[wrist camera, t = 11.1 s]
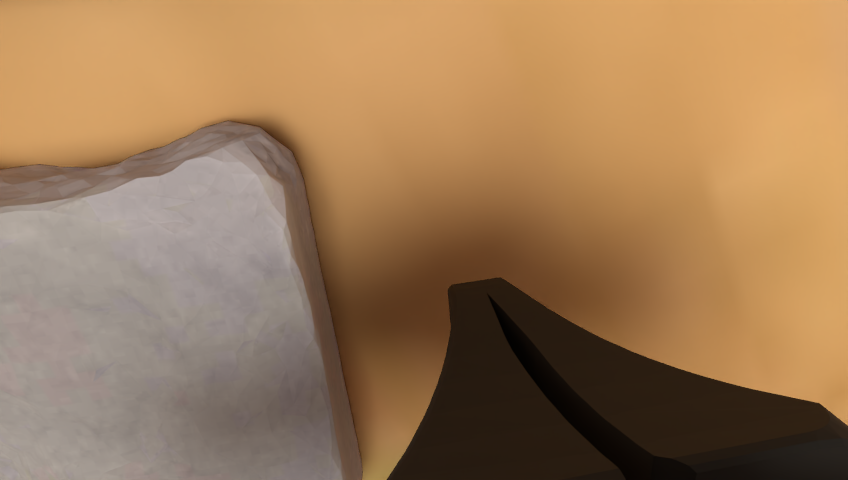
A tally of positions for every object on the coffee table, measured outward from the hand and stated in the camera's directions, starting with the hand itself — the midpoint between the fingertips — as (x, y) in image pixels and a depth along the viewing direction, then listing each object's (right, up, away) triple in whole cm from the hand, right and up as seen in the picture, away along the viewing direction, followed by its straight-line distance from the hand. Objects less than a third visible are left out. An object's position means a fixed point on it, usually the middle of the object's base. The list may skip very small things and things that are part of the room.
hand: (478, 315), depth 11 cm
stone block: (-9, -1, +2) cm, 9 cm away
